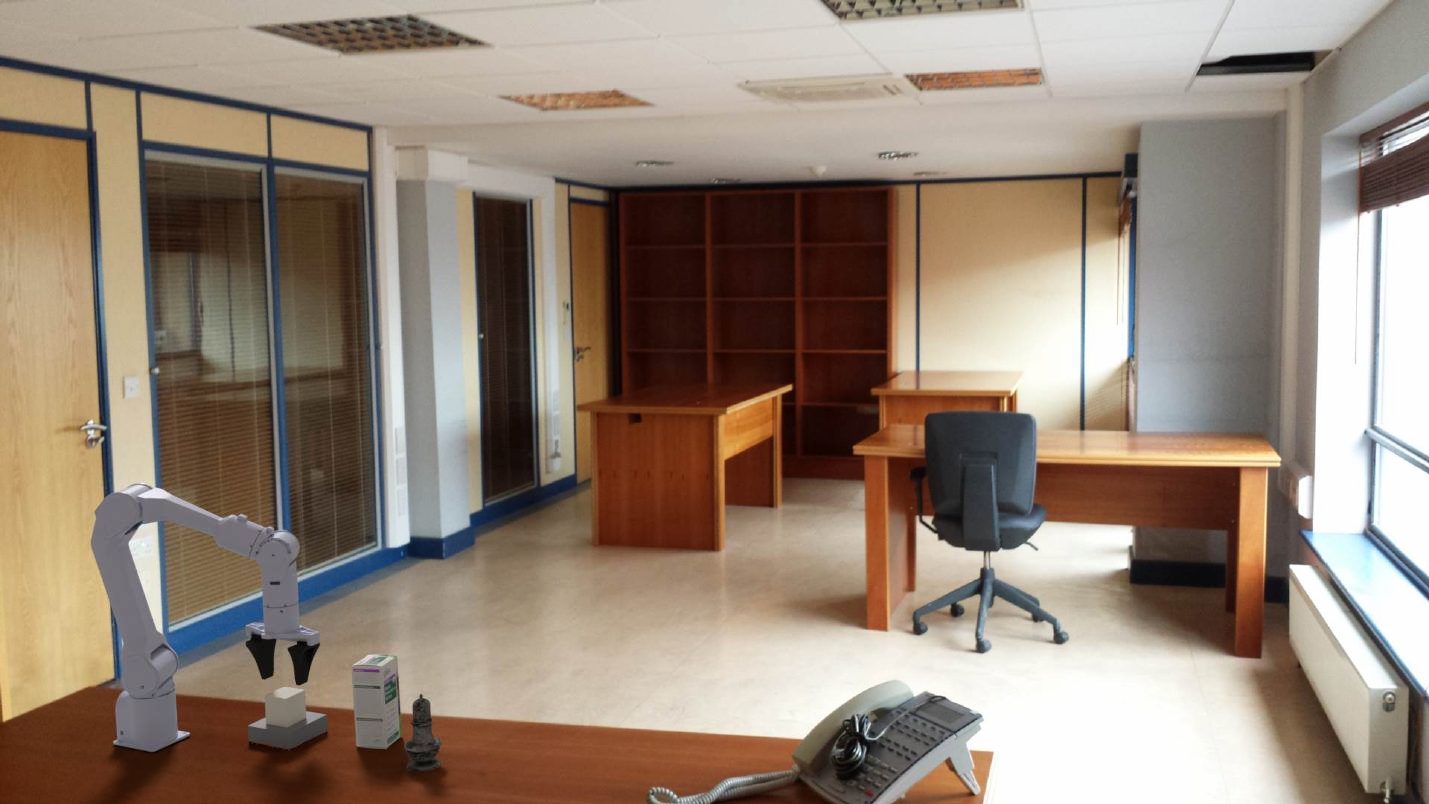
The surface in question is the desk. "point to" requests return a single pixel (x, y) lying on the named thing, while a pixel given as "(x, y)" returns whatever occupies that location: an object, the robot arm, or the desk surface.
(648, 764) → the desk surface
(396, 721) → the syrup box
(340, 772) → the desk surface
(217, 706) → the desk surface
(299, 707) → the cream white cube
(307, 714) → the block
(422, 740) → the salt shaker
